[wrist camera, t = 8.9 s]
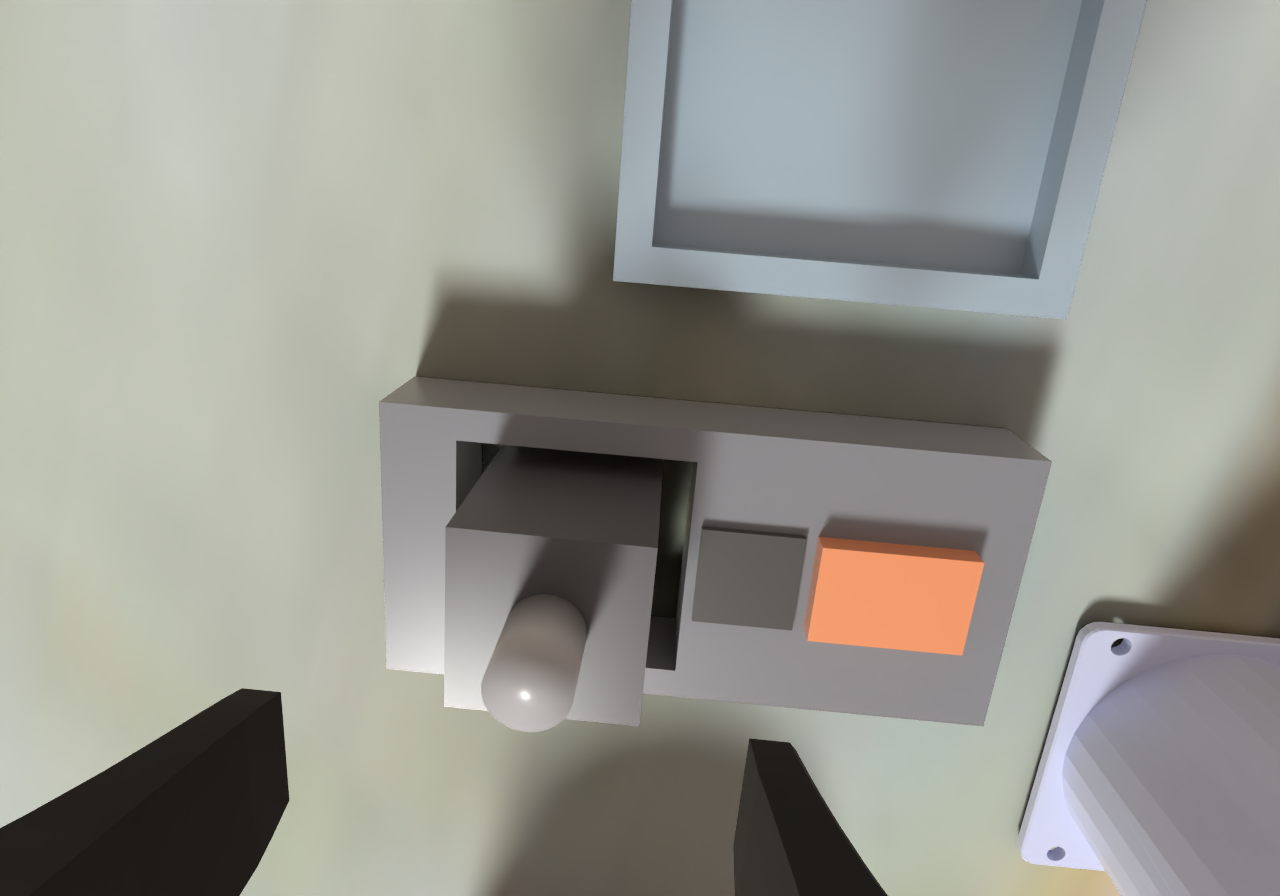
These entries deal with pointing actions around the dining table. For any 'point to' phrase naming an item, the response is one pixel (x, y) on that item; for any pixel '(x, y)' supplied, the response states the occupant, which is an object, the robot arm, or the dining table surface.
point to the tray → (870, 147)
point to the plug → (552, 588)
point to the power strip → (754, 541)
